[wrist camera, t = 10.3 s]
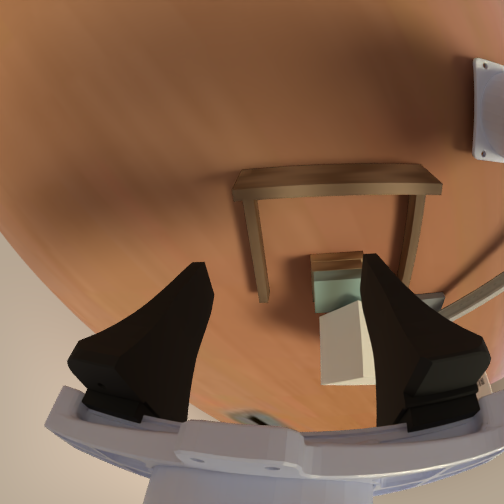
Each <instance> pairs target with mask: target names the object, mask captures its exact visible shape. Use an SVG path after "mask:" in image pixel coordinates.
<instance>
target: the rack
mask: <svg viewBox="0 0 504 504" xmlns="http://www.w3.org/2000/svg"><path fill="white" fill-rule="evenodd" d="M442 185H443V184H442V183H441V182H440V181H439V180H438V179H437V178H436V177H434V176H433V175H432V174H431V173H430V172H429V171H428V170H427V169H425V168H424V167H423V166H422V165H421V164H322V165H301V166H284V167H270V168H257V169H246V170H242V171H241V173H240V175H239V177H238V179H237V181H236V183H235V185H234V187H233V188H232V195H233V200H234V202H235V201H243V206H244V212H245V218H246V224H247V230H248V236H249V242H250V248H251V254H252V260H253V266H254V272H255V278H256V284H257V290H258V296H259V302H260V303H268V301H269V293H270V291H269V283H268V276H267V268H266V261H265V253H264V246H263V239H262V231H261V224H260V217H259V210H258V203H257V200H262V199H278V198H296V197H317V196H345V195H409V202H408V211H407V219H406V227H405V234H404V240H403V246H402V252H401V258H400V264H399V269H398V274H397V277H398V278H399V279H400V280H401V281H402V282H403V283H404V284H405V285H406V286H407V287H408V288H409V284H410V280H411V275H412V271H413V267H414V262H415V257H416V252H417V247H418V242H419V237H420V231H421V225H422V219H423V212H424V205H425V197H426V195H441V192H442Z"/></svg>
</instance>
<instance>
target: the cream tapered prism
mask: <svg viewBox="0 0 504 504" xmlns="http://www.w3.org/2000/svg"><path fill="white" fill-rule="evenodd" d="M319 321H320V354H321V385H376V380H375V367H374V357H373V351H372V346H371V342H370V338H369V334H368V330H367V325H366V321H365V317H364V313H363V309H362V303H361V301H359V300H357V301H355V302H353V303H351V304H348V305H346V306H344V307H341V308H339V309H337V310H334V311H332V312H330V313H327V314H325V315H323V316H320V317H319Z"/></svg>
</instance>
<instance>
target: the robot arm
mask: <svg viewBox="0 0 504 504" xmlns="http://www.w3.org/2000/svg"><path fill="white" fill-rule="evenodd" d="M483 63H484V64H485V68H484V67H483ZM473 70H474V133H473V147H472V155H473V157H474V158H476V159H478V160H486V161H494V162H501V163H504V66H503V65H500V64H497V63H494V62H491V61H488V60H485V59H481V58H474V60H473ZM482 151H483V155H482V156H481V153H482ZM360 295H361V303H362V309H363V313H364V317H365V321H366V325H367V330H368V334H369V338H370V342H371V346H372V351H373V357H374V367H375V380H376V401H377V426H376V427H373V428H364V429H354V430H341V431H323V432H298V431H296V430H293V429H290V428H287V427H278V426H267V425H248V424H235V423H224V422H214V421H206V420H188V421H187V415H188V406H189V398H190V390H191V384H192V378H193V372H194V367H195V362H196V358H197V354H198V351H199V348H200V345H201V342H202V339H203V336H204V333H205V330H206V327H207V324H208V321H209V318H210V315H211V310H212V305H213V300H214V292H213V289H212V285H211V282H210V279H209V275H208V272H207V269H206V265H205V262H192V263H191V264H190V265H189V266H188V267H187V268H186V269H184V270H183V271H182V272H181V273H180V274H179V275H178V276H177V277H176V278H175V279H174V280H173V281H172V282H171V283H170V284H169V285H168V286H166V287H165V288H164V289H163V290H162V291H161V292H160V293H159V294H157V295H156V296H155V297H154V298H153V299H152V300H150V301H149V302H148V303H147V304H145V305H144V306H143V307H141V308H140V309H139V310H137V311H136V312H134V313H133V314H131V315H130V316H128V317H127V318H125V319H123V320H122V321H120V322H118V323H117V324H115V325H113V326H111V327H109V328H107V329H105V330H103V331H101V332H99V333H97V334H94V335H92V336H90V337H87V338H85V339H82V340H80V341H78V343H77V345H76V346H75V348H74V350H73V352H72V353H71V355H70V357H69V359H68V361H67V362H68V366H69V368H70V370H71V371H72V373H73V374H74V375H75V376H76V377H77V378H78V379H79V380H80V381H81V382H82V383H83V385H84V386H85V387H86V388H87V391H86V393H85V394H84V393H83V392H81V391H79V390H77V389H73V388H71V387H68V386H63V388H62V390H61V392H60V394H59V396H58V397H57V399H56V402H55V404H54V406H53V408H52V410H51V412H50V414H49V416H48V418H47V420H46V422H45V427H46V428H47V429H49V430H50V431H51V432H53V433H54V434H55V435H57V436H58V437H60V438H61V439H63V440H64V441H65V442H67V443H68V444H70V445H71V446H73V447H74V448H76V449H78V450H80V451H82V452H85V453H87V454H89V455H91V456H93V457H96V458H98V459H100V460H103V461H105V462H107V463H110V464H112V465H114V466H117V467H119V468H122V469H125V470H127V471H130V472H133V473H135V474H138V475H141V476H144V477H147V478H150V481H149V485H148V488H147V491H146V495H145V498H144V502H143V504H373V496H378V495H383V494H388V493H393V492H398V491H402V490H406V489H410V488H414V487H418V486H421V485H425V484H428V483H432V482H435V481H438V480H441V479H444V478H447V477H450V476H453V475H456V474H459V473H461V472H464V471H467V470H469V469H472V468H475V467H478V466H480V465H483V464H485V463H487V462H489V461H490V460H492V459H494V458H495V457H497V456H498V455H500V454H501V453H503V452H504V390H501V391H498V392H495V393H492V394H489V395H486V396H483V397H482V398H480V399H479V400H478V399H477V396H476V393H477V392H478V390H479V389H478V385H477V382H478V380H479V379H480V378H481V376H482V375H483V374H484V372H485V371H486V369H487V368H488V366H489V364H490V360H491V357H490V354H489V351H488V348H487V346H486V344H485V342H484V340H483V338H482V337H481V336H479V335H477V334H475V333H473V332H471V331H469V330H466V329H464V328H462V327H461V326H459V325H457V324H455V323H453V322H452V321H450V320H449V319H447V318H445V317H444V316H442V315H441V314H439V313H438V312H436V311H435V310H434V309H432V308H431V307H430V306H428V305H427V304H426V303H425V302H423V301H422V300H421V299H420V298H419V297H417V296H416V295H415V294H414V293H413V292H412V291H411V290H410V289H409V288H408V287H407V286H406V285H405V284H404V283H403V282H402V281H401V280H400V279H399V278H398V277H397V276H396V275H395V274H394V273H393V272H392V271H391V269H390V268H389V267H388V266H387V265H386V264H385V263H384V262H383V260H382V259H381V258H380V257H379V256H378V255H377V254H376V253H375V254H363V261H362V272H361V282H360Z"/></svg>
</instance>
